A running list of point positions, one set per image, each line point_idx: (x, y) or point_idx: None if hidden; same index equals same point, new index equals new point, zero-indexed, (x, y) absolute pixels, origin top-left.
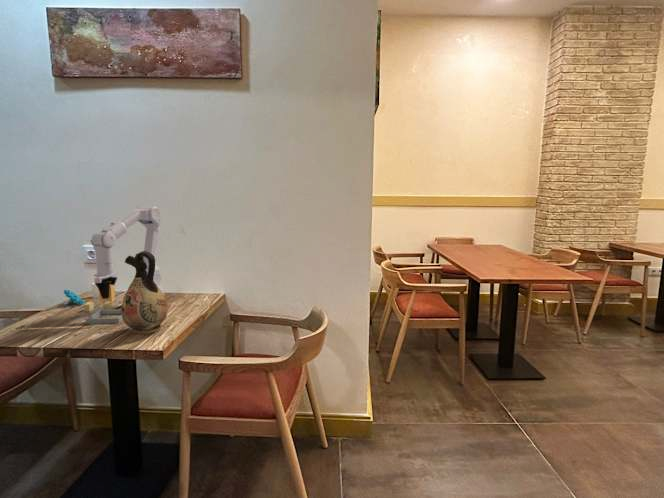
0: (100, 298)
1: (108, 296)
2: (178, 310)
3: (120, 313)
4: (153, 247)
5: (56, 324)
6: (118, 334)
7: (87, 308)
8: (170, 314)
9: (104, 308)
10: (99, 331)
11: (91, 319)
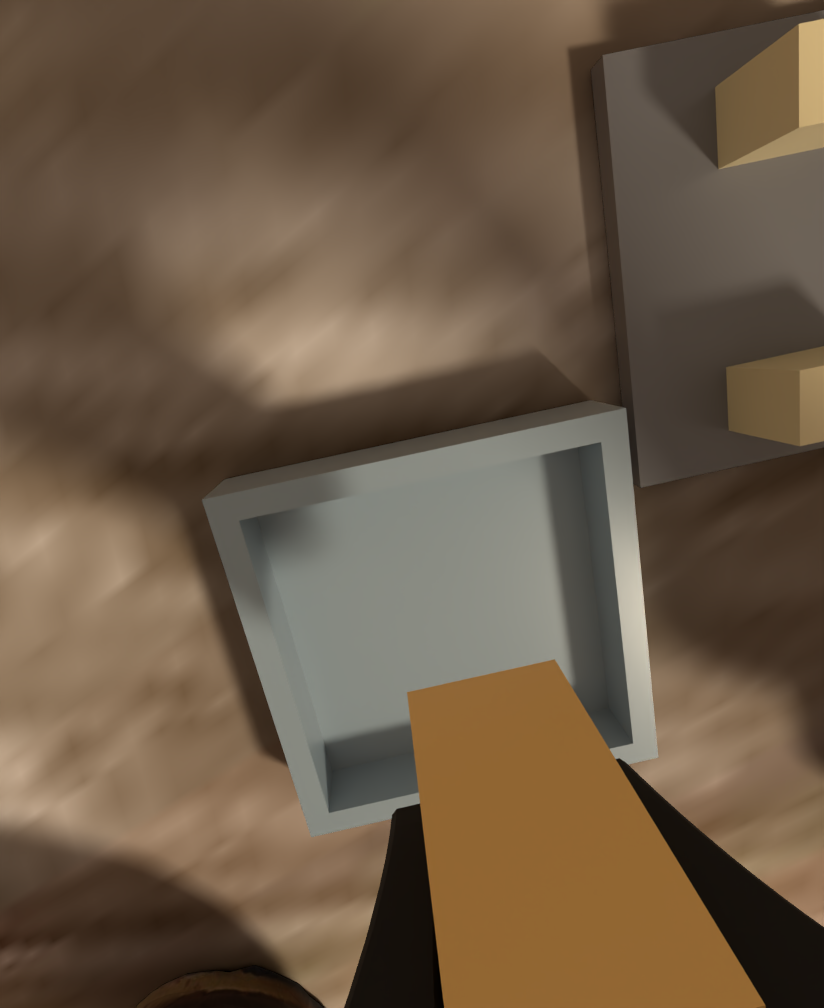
0: (416, 752)
1: None
2: None
3: (607, 644)
4: None
5: (193, 22)
6: (68, 921)
7: (748, 122)
8: None
9: (752, 383)
10: (93, 730)
11: (225, 569)
